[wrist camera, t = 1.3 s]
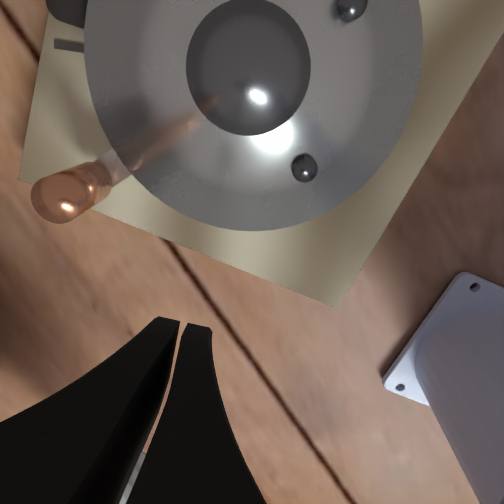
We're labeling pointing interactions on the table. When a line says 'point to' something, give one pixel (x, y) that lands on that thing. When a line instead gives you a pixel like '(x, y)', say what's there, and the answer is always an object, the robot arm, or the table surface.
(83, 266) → the table surface
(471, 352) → the robot arm
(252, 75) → the grey turntable
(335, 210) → the post base
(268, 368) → the table surface
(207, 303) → the table surface
